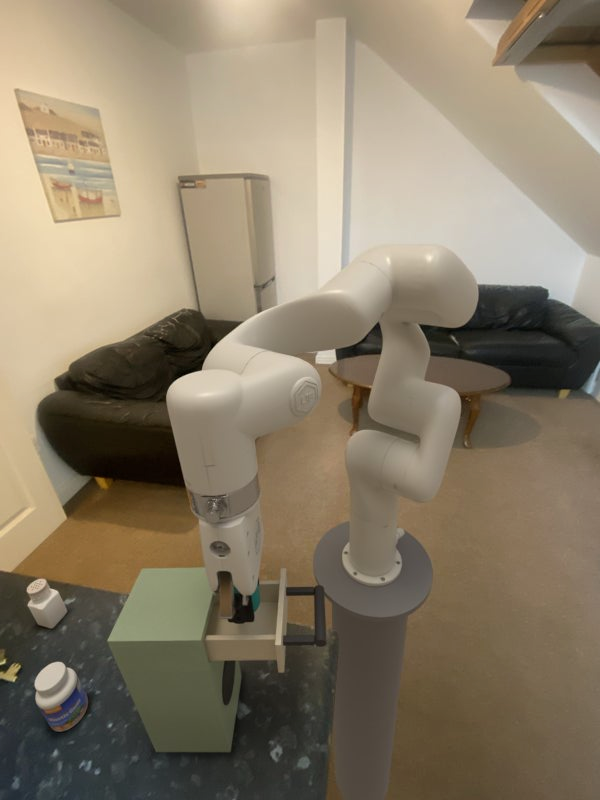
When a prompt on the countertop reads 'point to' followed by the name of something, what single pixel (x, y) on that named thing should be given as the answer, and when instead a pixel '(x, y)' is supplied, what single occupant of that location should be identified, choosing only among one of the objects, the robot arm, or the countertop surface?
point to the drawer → (264, 626)
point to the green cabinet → (175, 662)
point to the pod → (253, 598)
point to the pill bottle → (60, 696)
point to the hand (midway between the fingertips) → (244, 601)
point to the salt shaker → (45, 604)
